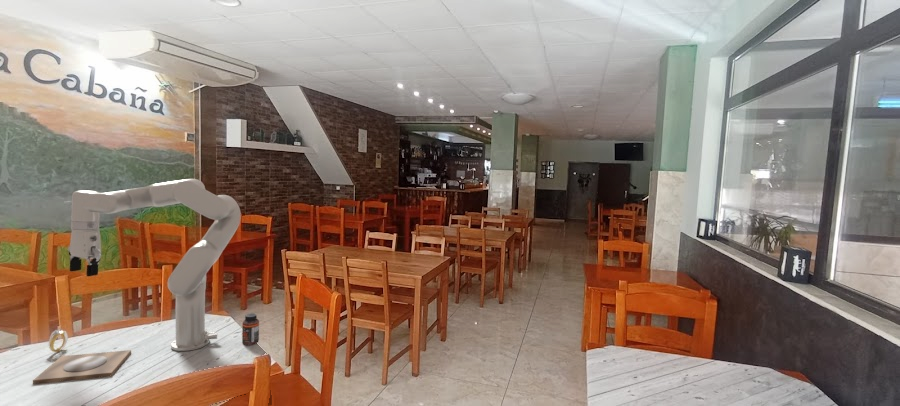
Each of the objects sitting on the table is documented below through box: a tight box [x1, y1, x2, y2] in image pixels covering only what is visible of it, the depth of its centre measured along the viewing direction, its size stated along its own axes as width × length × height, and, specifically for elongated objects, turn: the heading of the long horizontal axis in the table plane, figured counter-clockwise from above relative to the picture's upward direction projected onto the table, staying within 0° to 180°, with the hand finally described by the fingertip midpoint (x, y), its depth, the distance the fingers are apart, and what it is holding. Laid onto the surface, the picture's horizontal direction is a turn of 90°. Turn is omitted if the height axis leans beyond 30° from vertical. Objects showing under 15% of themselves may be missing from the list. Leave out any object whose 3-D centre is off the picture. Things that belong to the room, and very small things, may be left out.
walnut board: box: [32, 349, 132, 385], centre depth 141 cm, size 20×17×2 cm
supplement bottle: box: [241, 312, 260, 346], centre depth 165 cm, size 6×6×11 cm
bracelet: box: [48, 328, 69, 353], centre depth 151 cm, size 7×3×8 cm, turn 2°
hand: (83, 273), depth 149 cm, fingers open, 9 cm apart
